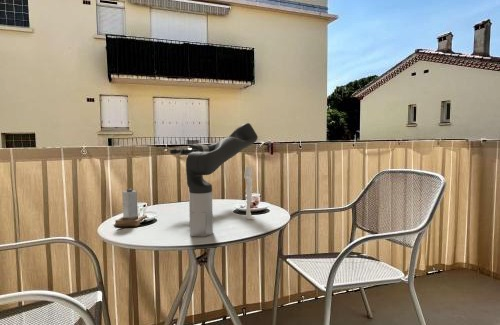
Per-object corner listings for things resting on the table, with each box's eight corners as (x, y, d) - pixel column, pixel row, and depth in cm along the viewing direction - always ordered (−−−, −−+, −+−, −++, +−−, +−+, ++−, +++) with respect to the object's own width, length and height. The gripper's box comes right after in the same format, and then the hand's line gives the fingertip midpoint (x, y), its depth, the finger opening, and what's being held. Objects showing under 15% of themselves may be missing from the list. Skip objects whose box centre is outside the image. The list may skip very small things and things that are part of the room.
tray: (137, 226, 137) (136, 220, 137) (115, 225, 138) (115, 220, 138) (147, 220, 147) (146, 215, 147) (126, 219, 148) (126, 214, 148)
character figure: (255, 226, 137) (254, 169, 135) (244, 226, 137) (243, 169, 135) (254, 212, 161) (253, 164, 159) (244, 212, 161) (244, 164, 159)
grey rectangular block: (137, 221, 143) (136, 188, 141) (128, 223, 139) (127, 190, 138) (132, 219, 145) (131, 188, 144) (123, 221, 142) (122, 189, 141)
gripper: (208, 158, 168) (185, 159, 155) (190, 157, 176) (167, 158, 163) (208, 144, 167) (185, 144, 154) (190, 144, 176) (166, 144, 163)
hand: (176, 151), depth 159 cm, fingers open, 8 cm apart
